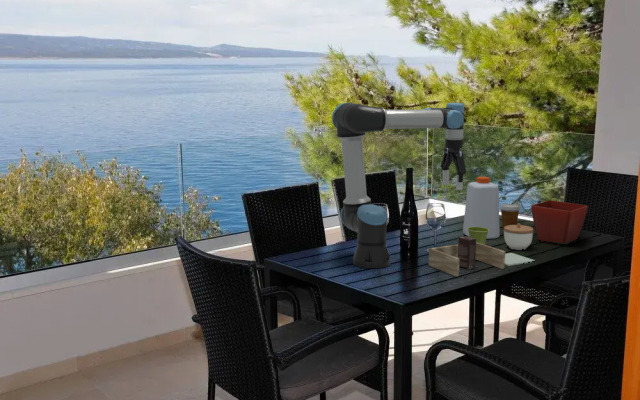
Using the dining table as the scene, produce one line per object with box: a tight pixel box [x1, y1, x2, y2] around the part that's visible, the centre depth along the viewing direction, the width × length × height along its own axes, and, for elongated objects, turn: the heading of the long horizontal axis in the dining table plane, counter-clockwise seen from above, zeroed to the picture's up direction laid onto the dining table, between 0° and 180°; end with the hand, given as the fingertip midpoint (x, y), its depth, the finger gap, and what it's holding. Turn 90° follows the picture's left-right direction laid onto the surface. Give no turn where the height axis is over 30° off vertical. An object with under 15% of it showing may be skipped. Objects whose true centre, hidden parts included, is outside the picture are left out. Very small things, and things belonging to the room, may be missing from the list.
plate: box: [505, 252, 536, 267], centre depth 306 cm, size 14×14×1 cm
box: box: [457, 235, 476, 270], centre depth 295 cm, size 6×4×12 cm
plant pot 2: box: [531, 199, 589, 243], centre depth 337 cm, size 19×19×17 cm
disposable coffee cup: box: [499, 203, 521, 231], centre depth 361 cm, size 10×10×12 cm
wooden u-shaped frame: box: [428, 242, 506, 277], centre depth 295 cm, size 24×18×7 cm
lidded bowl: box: [503, 222, 535, 251], centre depth 325 cm, size 13×13×11 cm
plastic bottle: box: [462, 176, 501, 240], centre depth 347 cm, size 15×15×28 cm
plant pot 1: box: [467, 227, 489, 245], centre depth 325 cm, size 9×9×9 cm
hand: (452, 187), depth 324 cm, fingers open, 13 cm apart
